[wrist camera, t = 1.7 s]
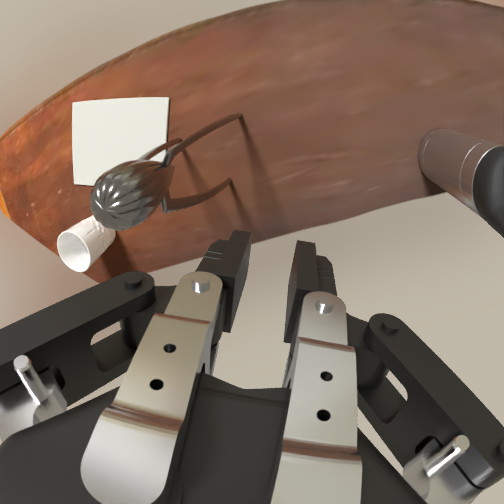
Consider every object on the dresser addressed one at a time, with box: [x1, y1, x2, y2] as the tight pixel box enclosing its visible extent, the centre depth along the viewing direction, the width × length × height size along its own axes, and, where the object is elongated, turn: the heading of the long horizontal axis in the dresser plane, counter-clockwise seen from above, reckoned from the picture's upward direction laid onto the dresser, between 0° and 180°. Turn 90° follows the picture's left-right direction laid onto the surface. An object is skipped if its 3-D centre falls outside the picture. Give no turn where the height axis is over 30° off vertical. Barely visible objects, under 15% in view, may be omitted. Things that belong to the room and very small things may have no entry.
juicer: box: [90, 113, 242, 231], centre depth 31 cm, size 10×11×30 cm
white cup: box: [57, 215, 116, 272], centre depth 50 cm, size 8×8×10 cm
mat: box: [72, 97, 170, 186], centre depth 46 cm, size 20×16×1 cm
